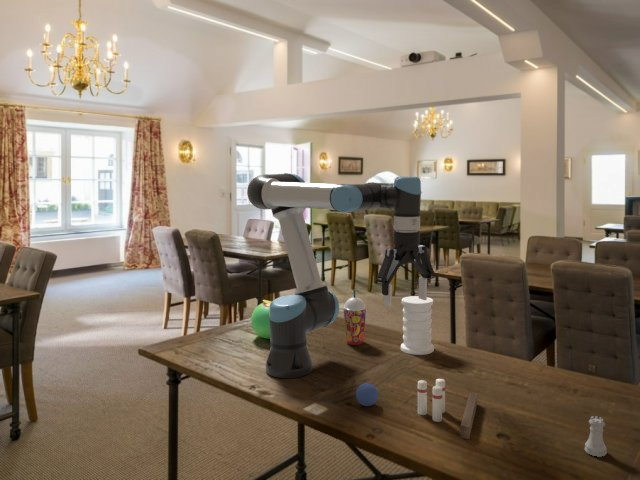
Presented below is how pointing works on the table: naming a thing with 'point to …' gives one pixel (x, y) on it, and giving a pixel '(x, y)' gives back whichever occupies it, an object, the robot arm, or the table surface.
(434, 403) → the pin
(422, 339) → the decorative container
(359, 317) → the smoothie
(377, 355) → the table surface
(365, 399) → the ball
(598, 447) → the rook chess piece
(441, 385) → the pin
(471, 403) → the back wall
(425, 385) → the front pin
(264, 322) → the toy bird
